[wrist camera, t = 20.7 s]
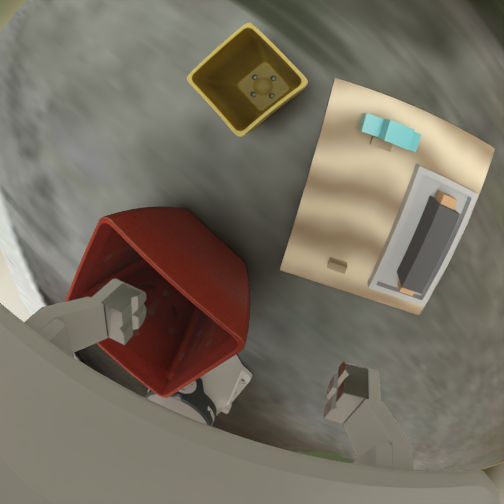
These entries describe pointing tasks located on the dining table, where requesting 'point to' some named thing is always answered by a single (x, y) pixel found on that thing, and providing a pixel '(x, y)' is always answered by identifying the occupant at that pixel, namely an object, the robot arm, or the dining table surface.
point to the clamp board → (369, 188)
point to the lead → (427, 243)
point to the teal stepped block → (390, 131)
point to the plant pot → (169, 293)
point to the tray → (406, 224)
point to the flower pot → (246, 79)
